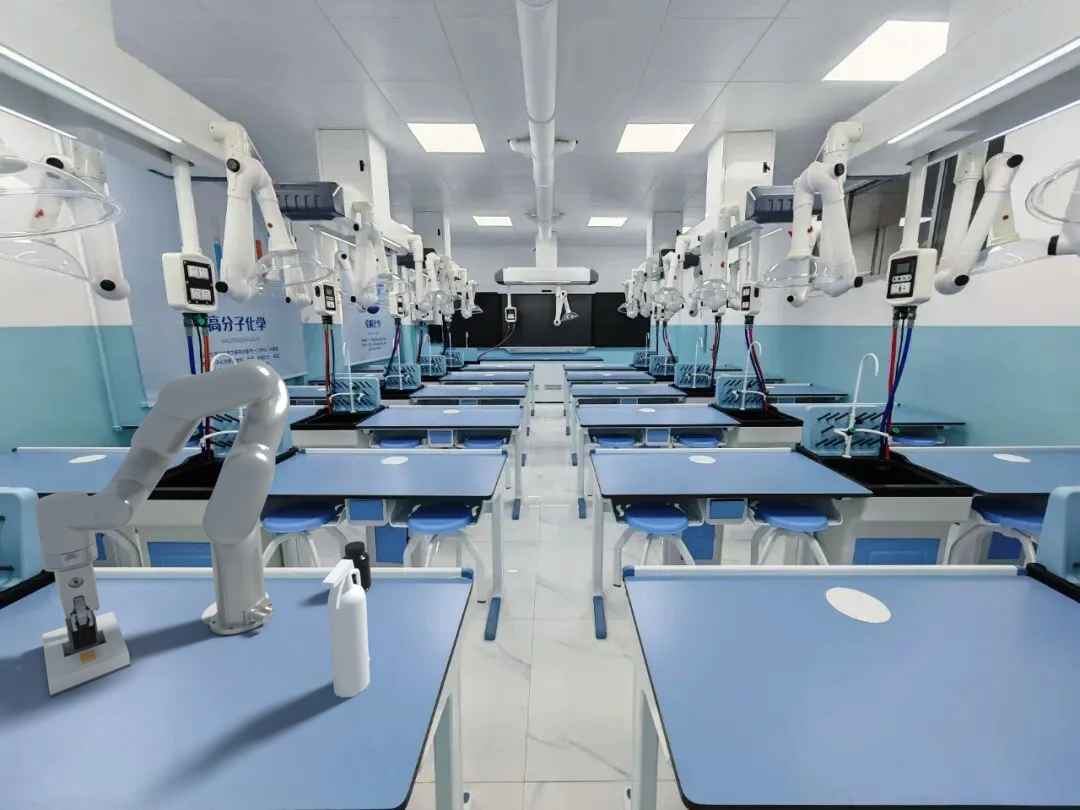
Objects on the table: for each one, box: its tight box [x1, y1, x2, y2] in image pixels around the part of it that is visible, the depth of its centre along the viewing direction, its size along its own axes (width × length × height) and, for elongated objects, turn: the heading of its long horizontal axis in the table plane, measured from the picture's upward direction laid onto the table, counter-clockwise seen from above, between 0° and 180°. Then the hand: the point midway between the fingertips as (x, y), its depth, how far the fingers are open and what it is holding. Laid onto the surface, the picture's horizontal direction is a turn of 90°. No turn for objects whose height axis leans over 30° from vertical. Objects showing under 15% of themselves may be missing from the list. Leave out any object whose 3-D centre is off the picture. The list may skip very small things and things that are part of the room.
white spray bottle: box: [321, 558, 371, 697], centre depth 87 cm, size 7×12×25 cm, turn 173°
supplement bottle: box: [341, 540, 372, 590], centre depth 120 cm, size 7×7×12 cm
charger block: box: [64, 609, 100, 655], centre depth 94 cm, size 4×4×8 cm
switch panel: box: [41, 611, 131, 698], centre depth 95 cm, size 20×11×4 cm, turn 48°
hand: (83, 634), depth 94 cm, fingers open, 9 cm apart
